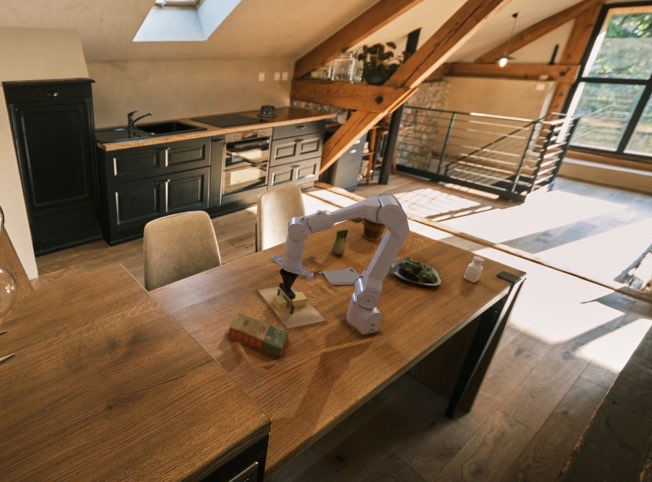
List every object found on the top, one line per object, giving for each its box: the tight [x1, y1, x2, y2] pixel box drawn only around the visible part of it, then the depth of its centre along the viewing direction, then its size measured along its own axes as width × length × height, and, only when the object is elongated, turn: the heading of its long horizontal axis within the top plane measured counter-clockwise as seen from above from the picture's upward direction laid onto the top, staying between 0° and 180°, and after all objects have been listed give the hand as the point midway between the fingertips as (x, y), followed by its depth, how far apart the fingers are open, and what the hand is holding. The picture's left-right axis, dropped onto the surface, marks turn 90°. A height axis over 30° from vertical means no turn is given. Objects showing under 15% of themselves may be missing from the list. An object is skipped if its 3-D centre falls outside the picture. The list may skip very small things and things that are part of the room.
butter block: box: [287, 291, 308, 309], centre depth 130 cm, size 4×7×3 cm, turn 107°
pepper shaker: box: [463, 255, 485, 284], centre depth 146 cm, size 4×4×10 cm
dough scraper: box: [278, 282, 296, 309], centre depth 128 cm, size 7×2×6 cm, turn 17°
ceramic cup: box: [359, 217, 387, 242], centre depth 177 cm, size 13×10×10 cm
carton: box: [227, 312, 289, 358], centre depth 115 cm, size 8×16×4 cm, turn 61°
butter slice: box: [272, 295, 287, 311], centre depth 128 cm, size 4×3×3 cm
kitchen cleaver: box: [310, 266, 361, 286], centre depth 147 cm, size 24×1×10 cm
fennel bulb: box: [330, 228, 349, 256], centre depth 161 cm, size 6×5×12 cm
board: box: [257, 284, 327, 329], centre depth 129 cm, size 20×14×4 cm
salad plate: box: [388, 255, 442, 289], centre depth 151 cm, size 19×18×5 cm
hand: (287, 288), depth 127 cm, fingers closed, pressing on dough scraper
